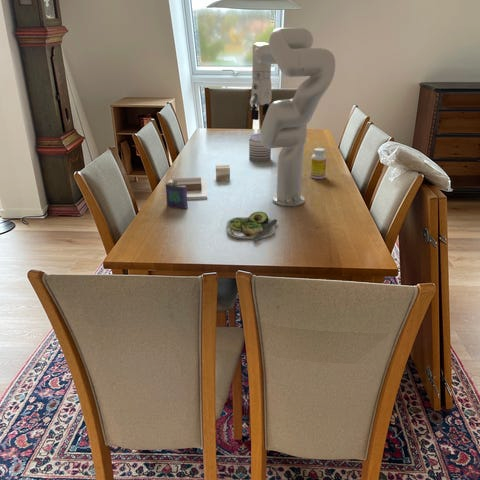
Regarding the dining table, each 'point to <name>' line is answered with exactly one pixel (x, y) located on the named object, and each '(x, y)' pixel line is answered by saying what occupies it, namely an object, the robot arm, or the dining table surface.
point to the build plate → (197, 192)
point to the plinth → (190, 183)
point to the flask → (176, 195)
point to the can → (258, 150)
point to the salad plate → (252, 226)
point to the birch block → (222, 172)
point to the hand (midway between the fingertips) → (260, 117)
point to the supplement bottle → (318, 164)
